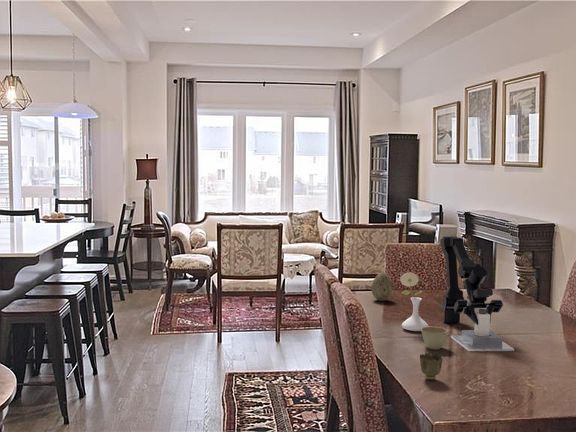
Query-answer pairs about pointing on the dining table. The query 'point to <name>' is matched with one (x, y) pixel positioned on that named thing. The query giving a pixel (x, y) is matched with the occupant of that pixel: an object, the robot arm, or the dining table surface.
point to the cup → (431, 365)
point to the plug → (482, 323)
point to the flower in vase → (414, 321)
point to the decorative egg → (382, 287)
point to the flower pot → (434, 337)
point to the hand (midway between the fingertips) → (483, 324)
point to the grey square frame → (481, 341)
